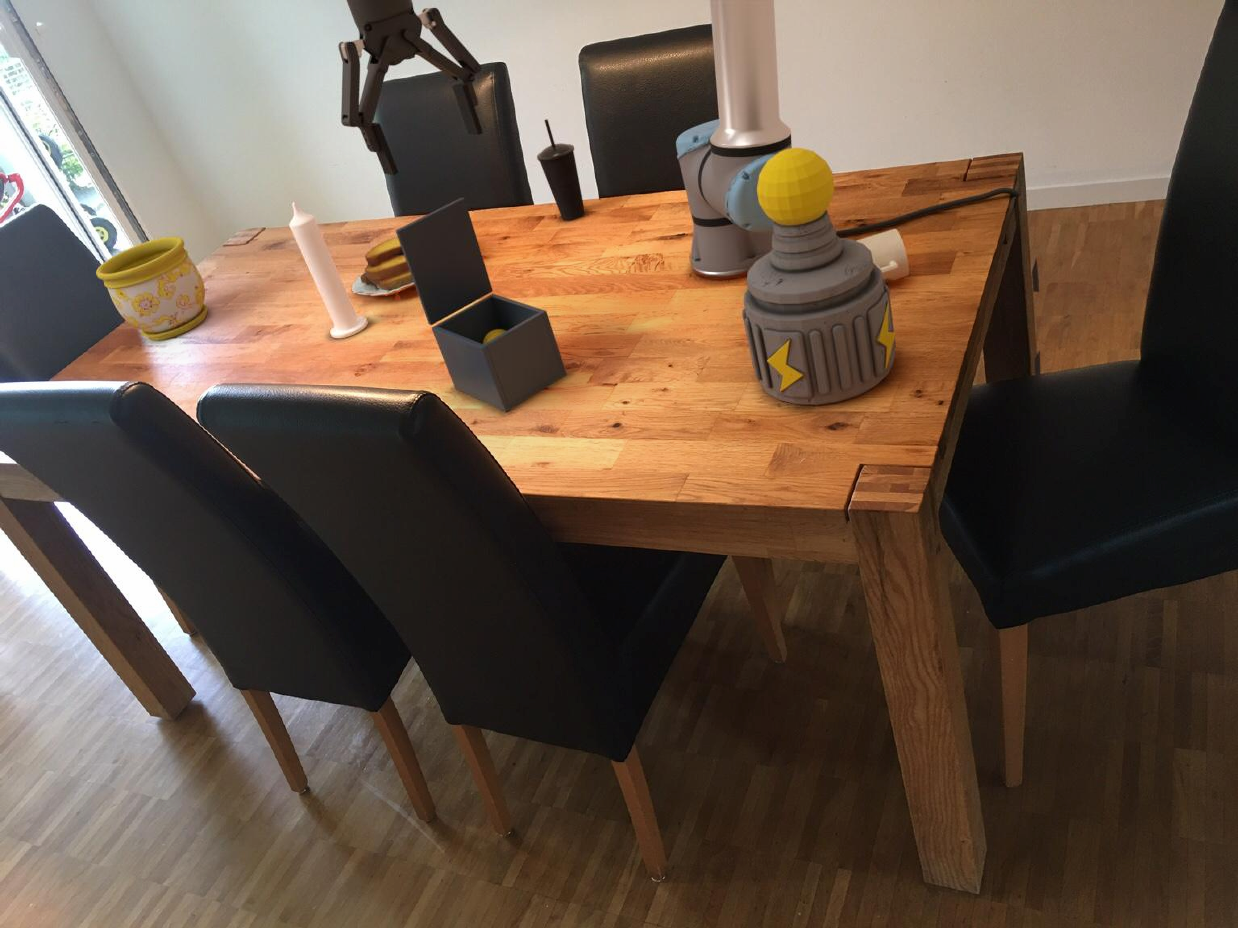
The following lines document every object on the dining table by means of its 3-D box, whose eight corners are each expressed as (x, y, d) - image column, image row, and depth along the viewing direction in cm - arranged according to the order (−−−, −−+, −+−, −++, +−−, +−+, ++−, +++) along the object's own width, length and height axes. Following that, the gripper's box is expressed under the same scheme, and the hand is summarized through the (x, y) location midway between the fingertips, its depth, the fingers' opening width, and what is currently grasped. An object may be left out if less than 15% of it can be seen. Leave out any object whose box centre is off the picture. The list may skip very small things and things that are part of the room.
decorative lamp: (795, 330, 146) (757, 124, 130) (922, 341, 135) (898, 116, 119) (729, 400, 135) (680, 184, 119) (862, 418, 124) (827, 182, 108)
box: (567, 374, 153) (546, 310, 147) (505, 412, 148) (481, 348, 142) (514, 353, 164) (492, 293, 158) (455, 388, 159) (430, 327, 153)
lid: (464, 198, 148) (461, 197, 149) (397, 231, 143) (395, 230, 144) (493, 291, 158) (490, 290, 158) (431, 325, 153) (428, 324, 153)
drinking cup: (587, 220, 206) (559, 122, 196) (551, 226, 209) (522, 130, 198) (595, 205, 212) (569, 110, 202) (561, 211, 215) (533, 117, 204)
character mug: (826, 313, 148) (915, 286, 146) (816, 268, 145) (907, 240, 143) (813, 288, 158) (896, 263, 156) (803, 245, 154) (888, 219, 153)
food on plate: (412, 308, 191) (399, 277, 187) (330, 301, 206) (316, 272, 202) (498, 247, 206) (488, 217, 202) (416, 245, 221) (404, 216, 217)
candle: (374, 318, 192) (320, 192, 178) (355, 337, 186) (297, 208, 173) (344, 321, 195) (289, 197, 181) (324, 339, 189) (265, 213, 176)
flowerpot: (199, 300, 228) (163, 232, 219) (232, 312, 215) (195, 240, 206) (124, 338, 219) (83, 269, 210) (153, 354, 206) (112, 280, 198)
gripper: (441, -46, 132) (494, 116, 144) (270, 18, 122) (341, 188, 133) (471, -50, 127) (523, 119, 138) (295, 17, 116) (367, 193, 128)
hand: (434, 153), depth 136 cm, fingers open, 13 cm apart
